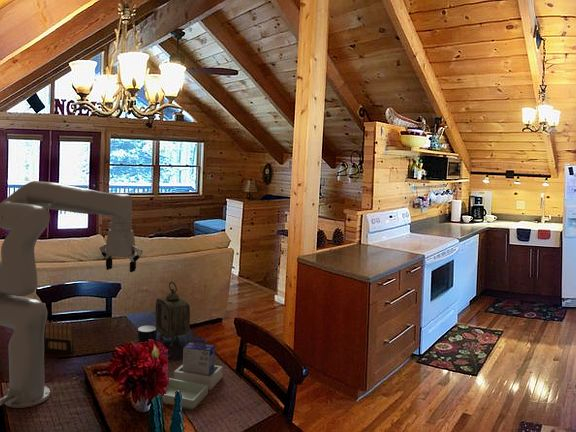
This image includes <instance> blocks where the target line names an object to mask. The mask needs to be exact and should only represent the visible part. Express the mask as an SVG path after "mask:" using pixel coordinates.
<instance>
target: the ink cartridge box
mask: <svg viewBox="0 0 576 432" xmlns="http://www.w3.org/2000/svg"><path fill="white" fill-rule="evenodd" d="M198 341H202V342H198ZM206 341H207V339H206V338H203V337H202V338H201V337H196V338H195V341H194V342H188V343H187V344H186V345H185V346H184V347H183V349H182V364H183V371H182V372H188V373H193V374H198V375H204V376H209V377H210V376H211V375H212V374H213V373H214V365H215V358H216V357H215V355H216V354H215V353H216V345H213V344H206Z"/></svg>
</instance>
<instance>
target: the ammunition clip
mask: <svg viewBox="0 0 576 432" xmlns="http://www.w3.org/2000/svg"><path fill="white" fill-rule="evenodd" d="M44 352H53V353H61V354H62V353H63V354H72V353H74V339H73V330H72V324H71V321H69V322H68V324H67V321H64V323H63V322H62V320H60V322H58V320H56V321H55V323H54V321H53V319H52V320H51V321H49V319H46V324H45V337H44Z"/></svg>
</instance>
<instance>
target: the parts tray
mask: <svg viewBox="0 0 576 432" xmlns="http://www.w3.org/2000/svg"><path fill="white" fill-rule="evenodd" d="M168 378H169V386H168V388H167V390H166V394H164V395H163V396H162V398H163V401H164V402H165V403H172V404H173V403H174V397H175V392H176V391H177V390H180V391H181V394H182V407H183V409H188V410H192V411H193V410H195V409H196V408H197V407H198V406H199V404H200V403H202V401H204V399H205V398H206V397H207V396H208V395H209V389H208V385H203V384H198V383H192V382H187V381H182V380H177V379H174V378H172V377H171V378H170V377H168Z"/></svg>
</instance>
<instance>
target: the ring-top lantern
mask: <svg viewBox="0 0 576 432" xmlns="http://www.w3.org/2000/svg"><path fill="white" fill-rule="evenodd" d="M171 284H172V285H173V286H174V287H175V288H172V287H171ZM168 288H169V291H170V292H169V293H168V294H167V295H166V297H162V298H161V297H160V298H157V299H156V301H155V327H156V328H157V333H159V335H158V338H159V339H163V338H166V339H169V338H171V342H170V343H169V347H170V348H172V347H174V346H175V344H174V340H175V341H176V342H177V341H179V340H180V338H179V336H184V335H185V336H186V335H187V334H188V333H189V332H190V327H191V324H190V323H191V322H190V321H191V308H190V306H191V305H190V304H189V303H188V302H187V301H185V300H184V299H182V298H181V297H180V296H179V295H178V293H177V291H178V287H177V285H176V283H175V282H174V281H170V282H169V283H168Z"/></svg>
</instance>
